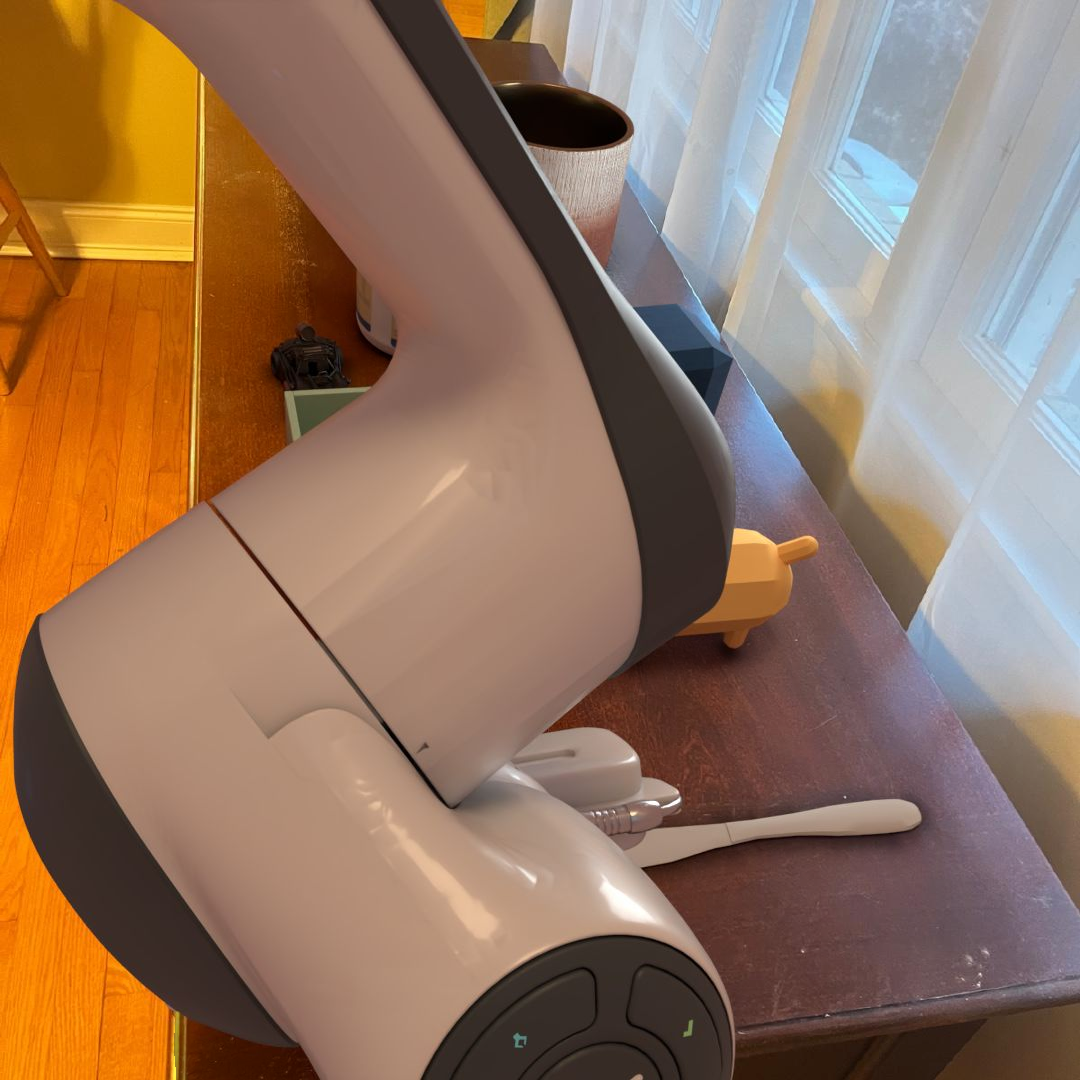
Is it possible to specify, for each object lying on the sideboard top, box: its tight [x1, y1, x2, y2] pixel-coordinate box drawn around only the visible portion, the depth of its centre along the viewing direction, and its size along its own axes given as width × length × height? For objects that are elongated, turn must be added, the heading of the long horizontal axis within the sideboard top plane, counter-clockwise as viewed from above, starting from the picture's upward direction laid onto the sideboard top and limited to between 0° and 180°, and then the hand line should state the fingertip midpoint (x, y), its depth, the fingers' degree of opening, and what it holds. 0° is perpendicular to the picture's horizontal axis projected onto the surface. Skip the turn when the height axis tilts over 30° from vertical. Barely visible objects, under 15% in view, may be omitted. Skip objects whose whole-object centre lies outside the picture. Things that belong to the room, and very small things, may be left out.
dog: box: [674, 527, 819, 649], centre depth 67 cm, size 8×20×13 cm, turn 103°
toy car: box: [270, 322, 352, 392], centre depth 85 cm, size 6×12×4 cm, turn 22°
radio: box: [632, 303, 734, 418], centre depth 78 cm, size 21×9×20 cm, turn 112°
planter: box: [490, 79, 635, 271], centre depth 104 cm, size 18×18×16 cm
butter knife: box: [624, 798, 923, 869], centre depth 60 cm, size 1×27×3 cm
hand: (369, 774), depth 46 cm, fingers closed on cosmetic box, 7 cm apart
